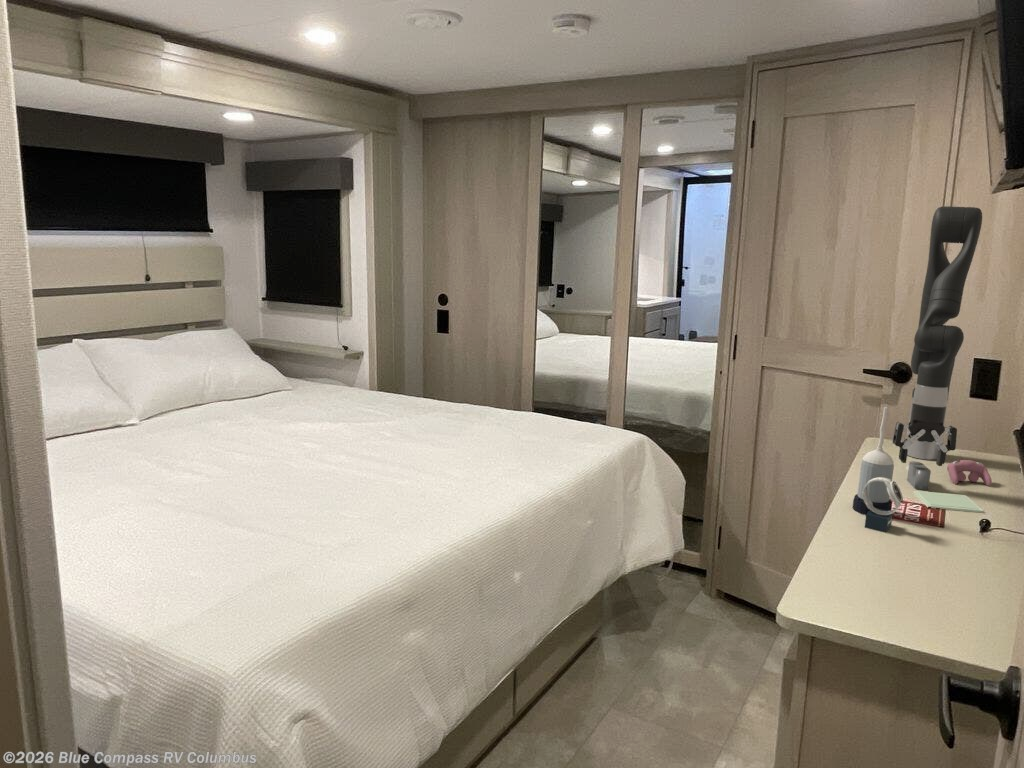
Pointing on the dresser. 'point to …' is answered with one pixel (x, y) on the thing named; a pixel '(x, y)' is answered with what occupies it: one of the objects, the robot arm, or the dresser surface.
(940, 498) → the mat
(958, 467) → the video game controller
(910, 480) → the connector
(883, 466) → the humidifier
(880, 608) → the dresser surface
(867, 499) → the watch
